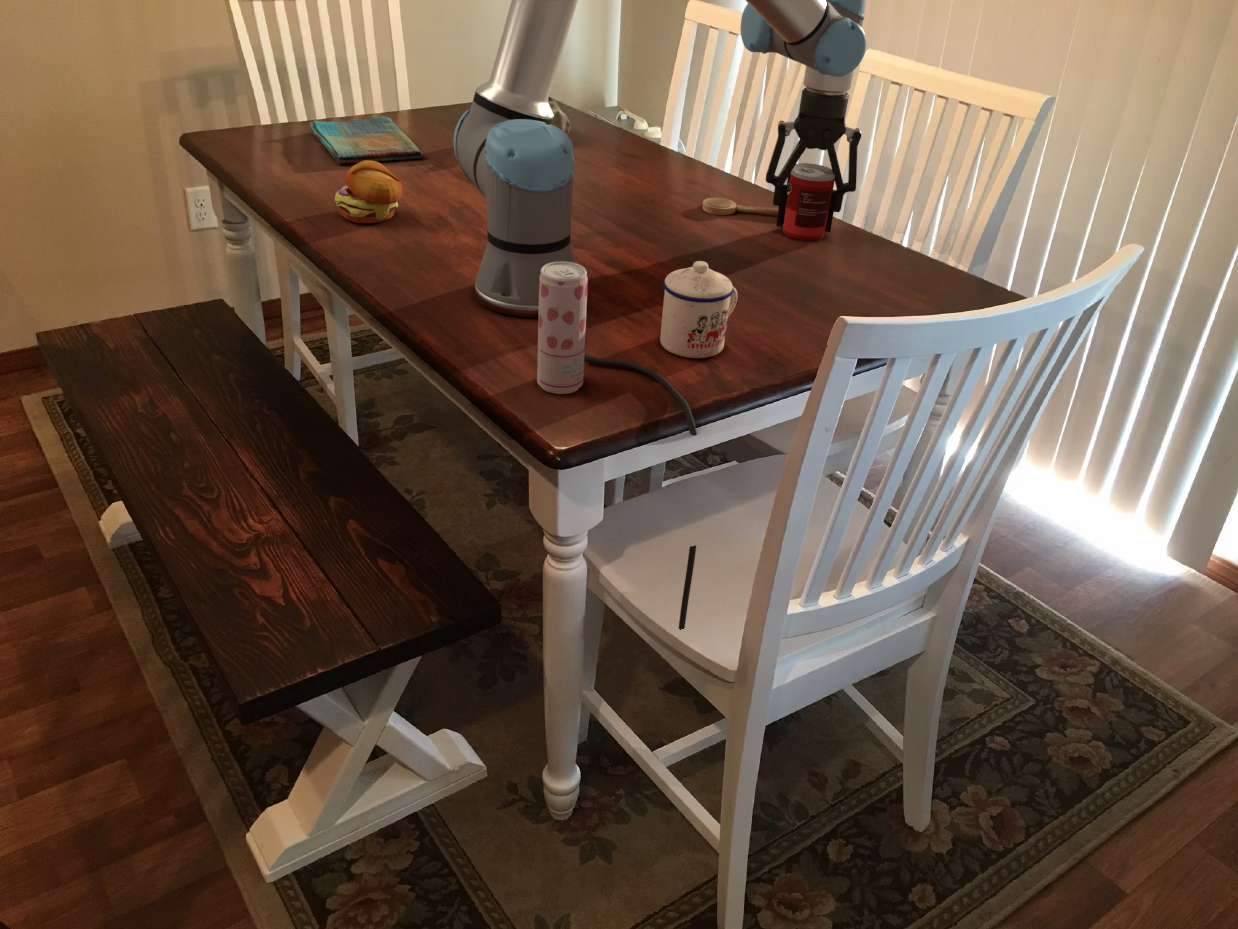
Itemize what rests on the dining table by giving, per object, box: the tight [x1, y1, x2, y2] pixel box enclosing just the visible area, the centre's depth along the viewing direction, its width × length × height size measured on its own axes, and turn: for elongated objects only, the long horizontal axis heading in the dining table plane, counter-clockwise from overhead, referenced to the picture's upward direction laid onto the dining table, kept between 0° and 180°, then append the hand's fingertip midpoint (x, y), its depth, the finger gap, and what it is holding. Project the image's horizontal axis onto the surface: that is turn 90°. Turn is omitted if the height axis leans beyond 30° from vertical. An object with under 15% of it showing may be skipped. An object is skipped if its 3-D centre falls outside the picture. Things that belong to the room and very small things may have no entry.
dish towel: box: [309, 116, 424, 165], centre depth 198 cm, size 17×23×2 cm
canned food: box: [780, 162, 835, 242], centre depth 169 cm, size 8×8×11 cm
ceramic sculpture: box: [548, 96, 572, 136], centre depth 210 cm, size 11×9×15 cm
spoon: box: [701, 197, 778, 217], centre depth 179 cm, size 17×6×1 cm, turn 82°
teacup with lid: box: [659, 260, 739, 359], centre depth 131 cm, size 12×9×12 cm
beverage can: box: [536, 261, 589, 395], centre depth 118 cm, size 6×6×15 cm
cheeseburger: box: [334, 160, 403, 224], centre depth 164 cm, size 10×11×10 cm
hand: (803, 226), depth 172 cm, fingers closed on canned food, 8 cm apart
